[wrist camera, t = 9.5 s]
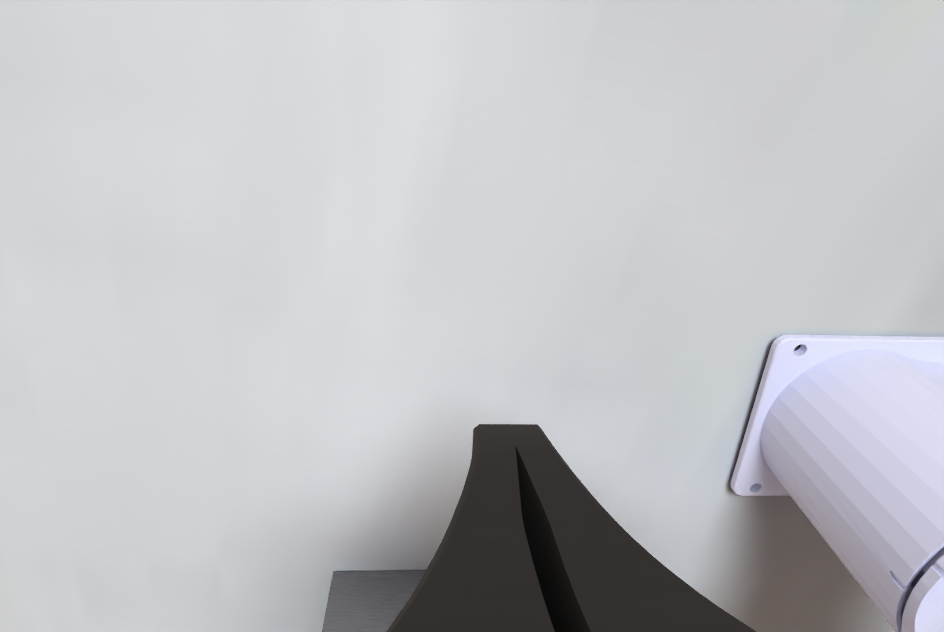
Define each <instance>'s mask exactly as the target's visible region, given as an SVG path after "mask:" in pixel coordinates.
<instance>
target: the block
mask: <svg viewBox="0 0 944 632" xmlns="http://www.w3.org/2000/svg"><path fill="white" fill-rule="evenodd" d="M425 572H426V570H404V571H336V572H333V577H332V582H331V588H330V593H329V598H328V603H327V609H326V614H325V619H324V624H323V630H322V632H386V631H387V630H388V629H389V627H390V626H391V624H392V623H393V621H394V620H395V618H396V617H397V616H398V614H399V613H400V611H401V610H402V608H403V607H404V606H405V604H406V603H407V601H408V600H409V598H410V597H411V595H412V594H413V592H414V590H415V589H416V587H417V586H418V584H419V582H420V581H421V579H422V577H423V575H424V574H425Z"/></svg>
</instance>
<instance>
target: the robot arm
mask: <svg viewBox="0 0 944 632" xmlns="http://www.w3.org/2000/svg"><path fill="white" fill-rule="evenodd" d="M798 345H801V347H800V348H799V349H798V350H796V351H794V349H795V347H797V346H798ZM753 484H755V485H753ZM752 485H753V486H752ZM730 486H731V488H732V490H733V491H734V493H735V494H737V495H740V496H789V495H790V496H791V497H792V498H793V500H794V501H795V502H796V504H797V505H798V506H799V508H800V509H801V510H802V511H803V513H804V514H805V515H806V517H807V518H808V519H809V520H810V522H811V523H812V524H813V526H814V527H815V528H816V529H817V531H818V532H819V533H820V535H821V536H822V537H823V539H824V540H825V541H826V542H827V544H828V545H829V546H830V548H831V549H832V550H833V551H834V553H835V554H836V555H837V557H838V558H839V559H840V560H841V562H842V563H843V564H844V566H845V567H846V568H847V569H848V571H849V572H850V573H851V575H852V576H853V577H854V579H855V580H856V581H857V582H858V584H859V585H860V586H861V588H862V589H863V590H864V591H865V593H866V594H867V595H868V597H869V598H870V599H871V600H872V602H873V603H874V604H875V606H876V607H877V608H878V610H879V611H880V612H881V613H882V615H883V616H884V617H885V619H886V620H887V621H888V622H889V624H890V625H891V626H892V628H893V629H894V630H895V631H896V632H944V337H910V336H838V335H782V336H780V337H778V338H777V339H776V340H775V341H774V342H773V344H772V346H771V349H770V352H769V355H768V359H767V362H766V366H765V369H764V372H763V376H762V379H761V382H760V386H759V389H758V392H757V396H756V399H755V402H754V406H753V409H752V413H751V416H750V419H749V423H748V426H747V429H746V433H745V436H744V439H743V443H742V446H741V449H740V453H739V456H738V460H737V463H736V466H735V470H734V473H733V476H732V480H731V485H730ZM386 632H756V631H754V630H753V629H751V628H750V627H748V626H747V625H745V624H744V623H742V622H741V621H739V620H737V619H736V618H734V617H733V616H731V615H730V614H728V613H727V612H725V611H724V610H722V609H721V608H719V607H718V606H717V605H715V604H714V603H712V602H711V601H709V600H708V599H707V598H705V597H704V596H702V595H701V594H700V593H698V592H697V591H696V590H694V589H693V588H692V587H690V586H689V585H688V584H687V583H685V582H684V581H683V580H681V579H680V578H679V577H678V576H676V575H675V574H674V573H672V572H671V571H670V570H669V569H667V568H666V567H665V566H664V565H663V564H661V563H660V562H659V561H658V560H656V559H655V558H654V557H653V556H652V555H651V554H650V553H649V552H647V551H646V550H645V549H644V548H643V547H642V546H641V545H640V544H639V543H637V542H636V541H635V540H634V539H633V538H632V537H631V536H630V535H629V534H628V533H627V532H626V531H625V530H624V529H623V528H622V527H621V526H620V525H619V524H618V523H617V522H616V521H615V520H614V519H613V518H612V517H611V516H610V514H609V513H608V512H607V511H606V510H605V509H604V508H603V507H602V506H601V505H600V504H599V503H598V501H597V500H596V499H595V498H594V497H593V496H592V495H591V493H590V492H589V491H588V490H587V489H586V487H585V486H584V485H583V484H582V483H581V481H580V480H579V479H578V478H577V477H576V475H575V474H574V473H573V472H572V470H571V469H570V468H569V466H568V465H567V464H566V462H565V461H564V460H563V459H562V457H561V456H560V455H559V453H558V452H557V450H556V449H555V448H554V446H553V445H552V444H551V442H550V441H549V439H548V438H547V436H546V435H545V434H544V432H543V431H542V429H541V428H540V427H539V426H538V425H518V424H479V425H478V426H477V427H475V428H474V431H473V449H472V460H471V465H470V468H469V472H468V475H467V479H466V482H465V485H464V489H463V492H462V495H461V497H460V500H459V502H458V505H457V507H456V510H455V513H454V515H453V518H452V520H451V523H450V525H449V527H448V529H447V531H446V534H445V536H444V538H443V540H442V542H441V544H440V546H439V548H438V550H437V552H436V554H435V556H434V558H433V560H432V561H431V563H430V565H429V567H428V568H427V570H426V572H425V574H424V575H423V577H422V579H421V581H420V582H419V584H418V586H417V587H416V589H415V590H414V592H413V594H412V595H411V597H410V598H409V600H408V601H407V603H406V604H405V606H404V607H403V608H402V610H401V611H400V613H399V614H398V616H397V617H396V618H395V620H394V621H393V623H392V624H391V626H390V627H389V629H388V630H387V631H386Z"/></svg>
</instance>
